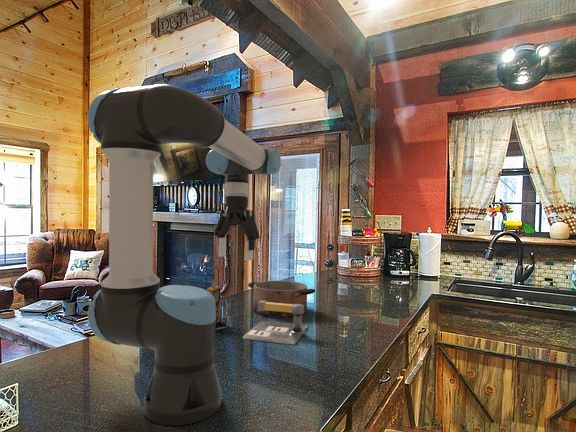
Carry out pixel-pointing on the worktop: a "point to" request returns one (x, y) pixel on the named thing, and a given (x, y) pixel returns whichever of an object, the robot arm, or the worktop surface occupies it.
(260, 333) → the label
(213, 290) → the multimeter
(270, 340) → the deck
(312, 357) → the worktop surface
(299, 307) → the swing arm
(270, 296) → the cooking pot
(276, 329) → the label
